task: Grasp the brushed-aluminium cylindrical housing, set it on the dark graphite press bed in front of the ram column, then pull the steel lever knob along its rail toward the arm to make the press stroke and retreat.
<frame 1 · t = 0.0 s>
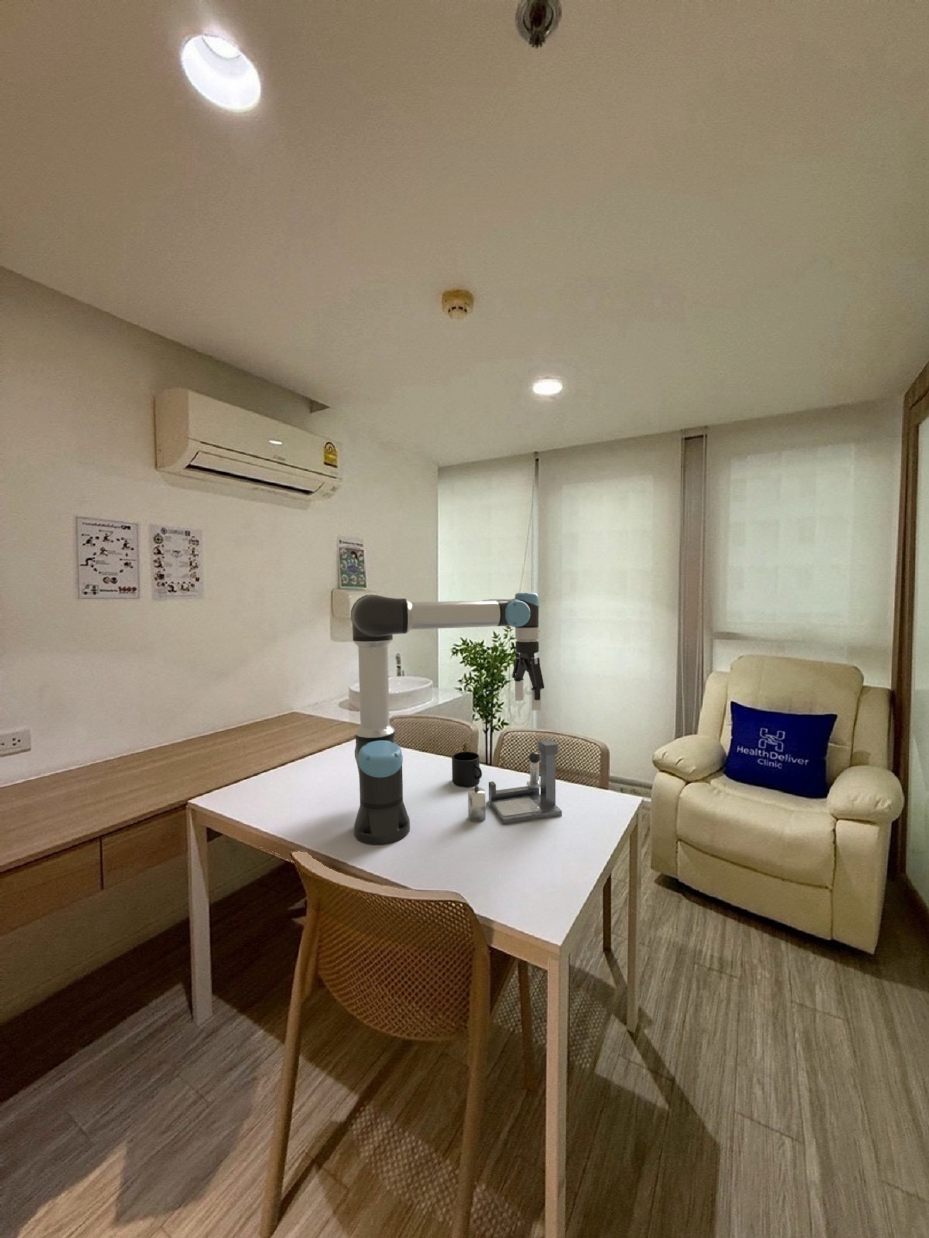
hand: (527, 705, 157), 28 cm above the table, fingers open, 13 cm apart
mug: (468, 783, 164), on the table
press: (523, 809, 144), on the table
lever: (534, 768, 153), point 9 cm above the table, slide at 0.0 cm
housing: (476, 818, 139), on the table
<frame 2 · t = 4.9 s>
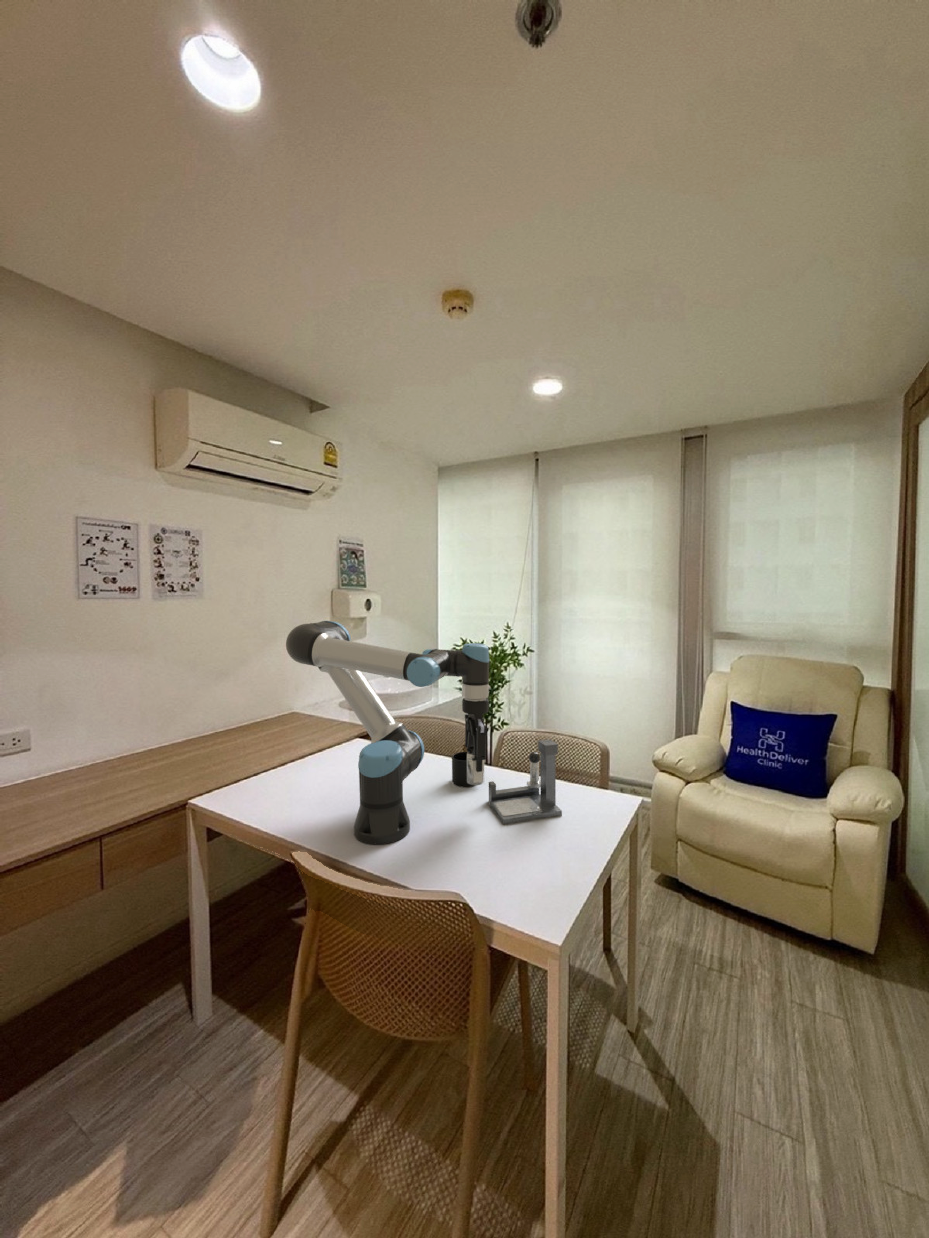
hand: (474, 777, 138), 12 cm above the table, fingers closed on housing, 5 cm apart
housing: (475, 781, 138), point 11 cm above the table, touching gripper
everything else where it was.
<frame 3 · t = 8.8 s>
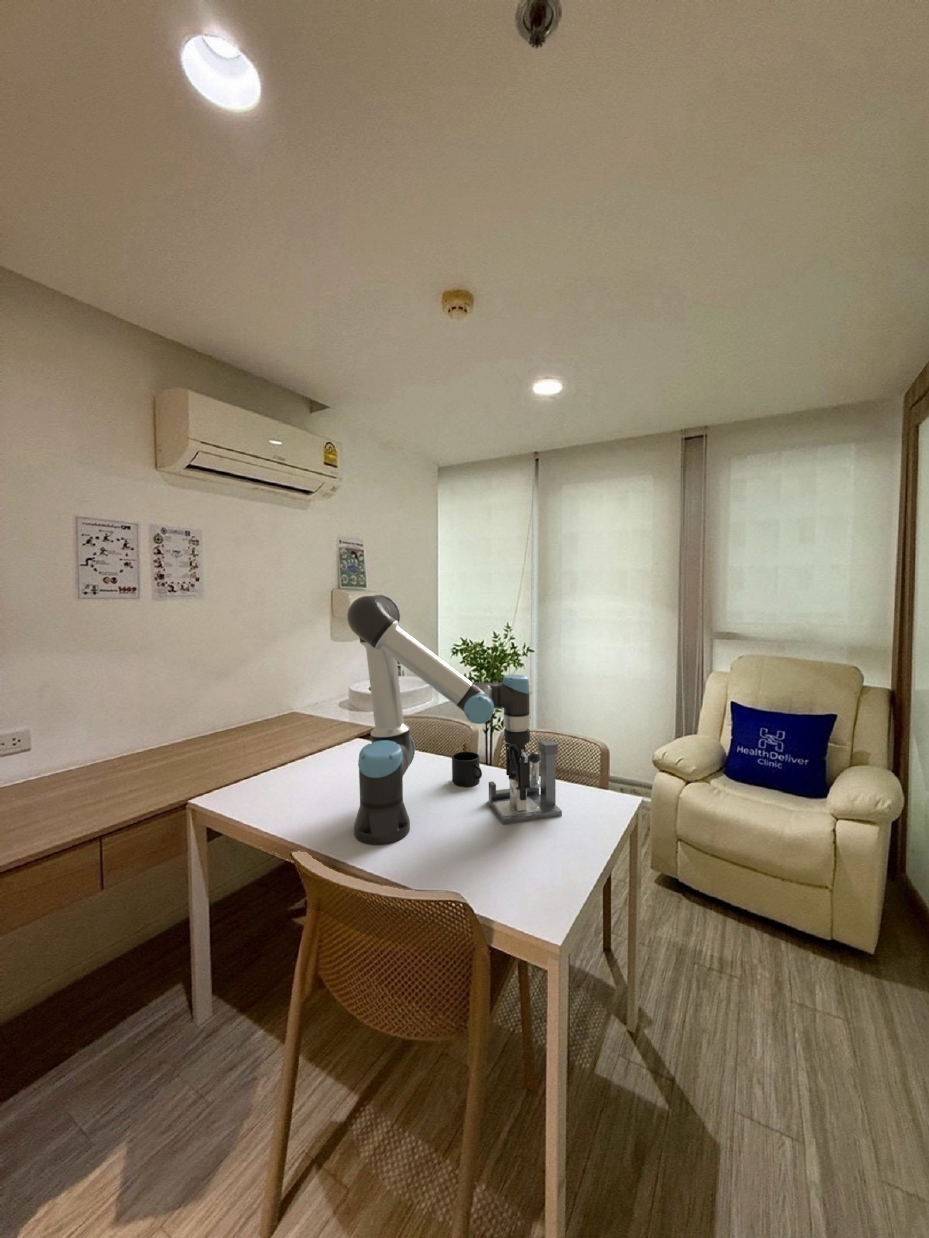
hand: (518, 805, 142), 2 cm above the table, fingers closed on housing, press, 5 cm apart
housing: (518, 806, 142), point 2 cm above the table, touching gripper, press
everything else where it was.
when the fingers open (2 cm above the table, at t = 8.8 s): housing stays where it is, resting on press.
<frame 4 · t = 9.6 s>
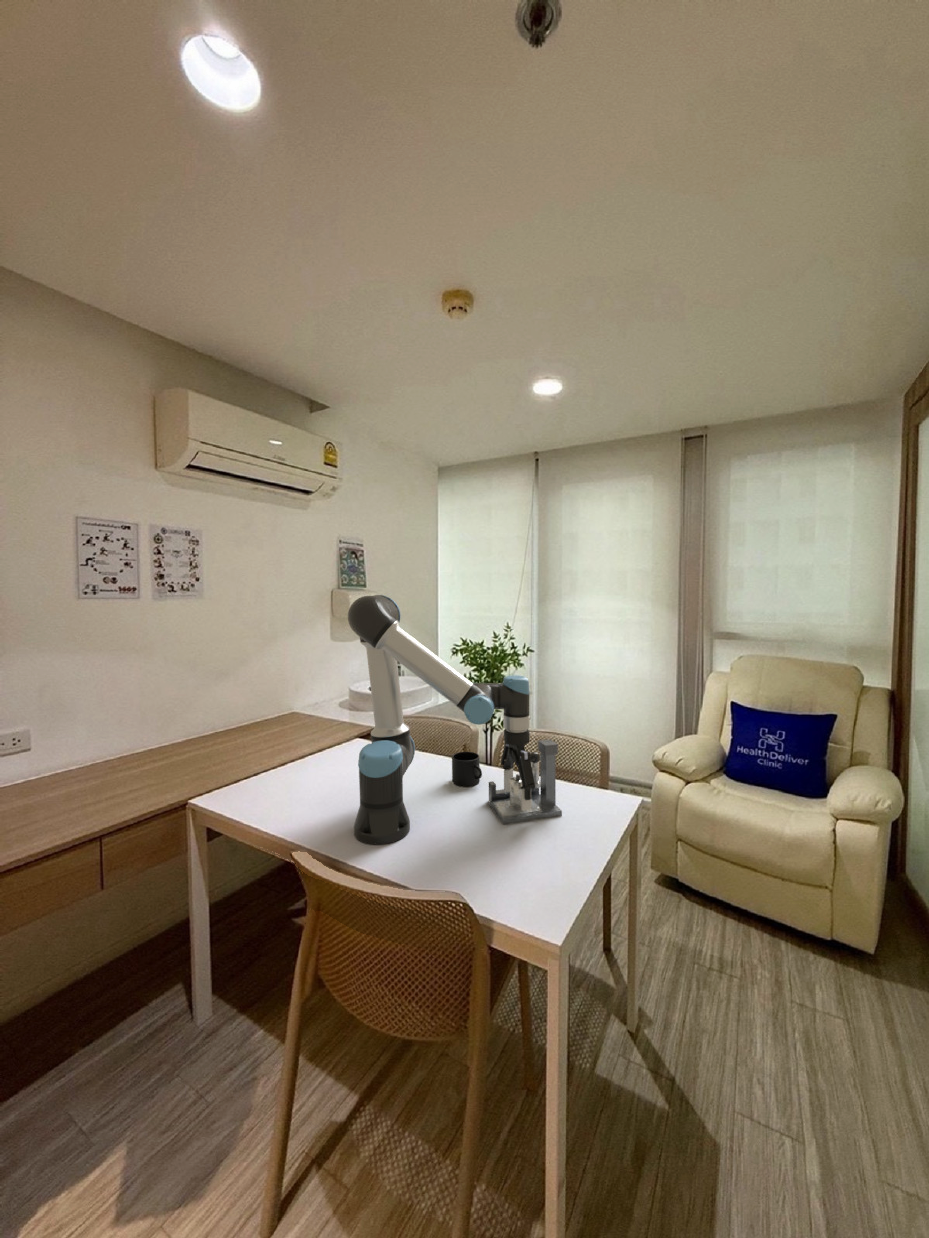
hand: (517, 799, 142), 4 cm above the table, fingers open, 13 cm apart
housing: (518, 806, 142), point 2 cm above the table, touching press
everything else where it was.
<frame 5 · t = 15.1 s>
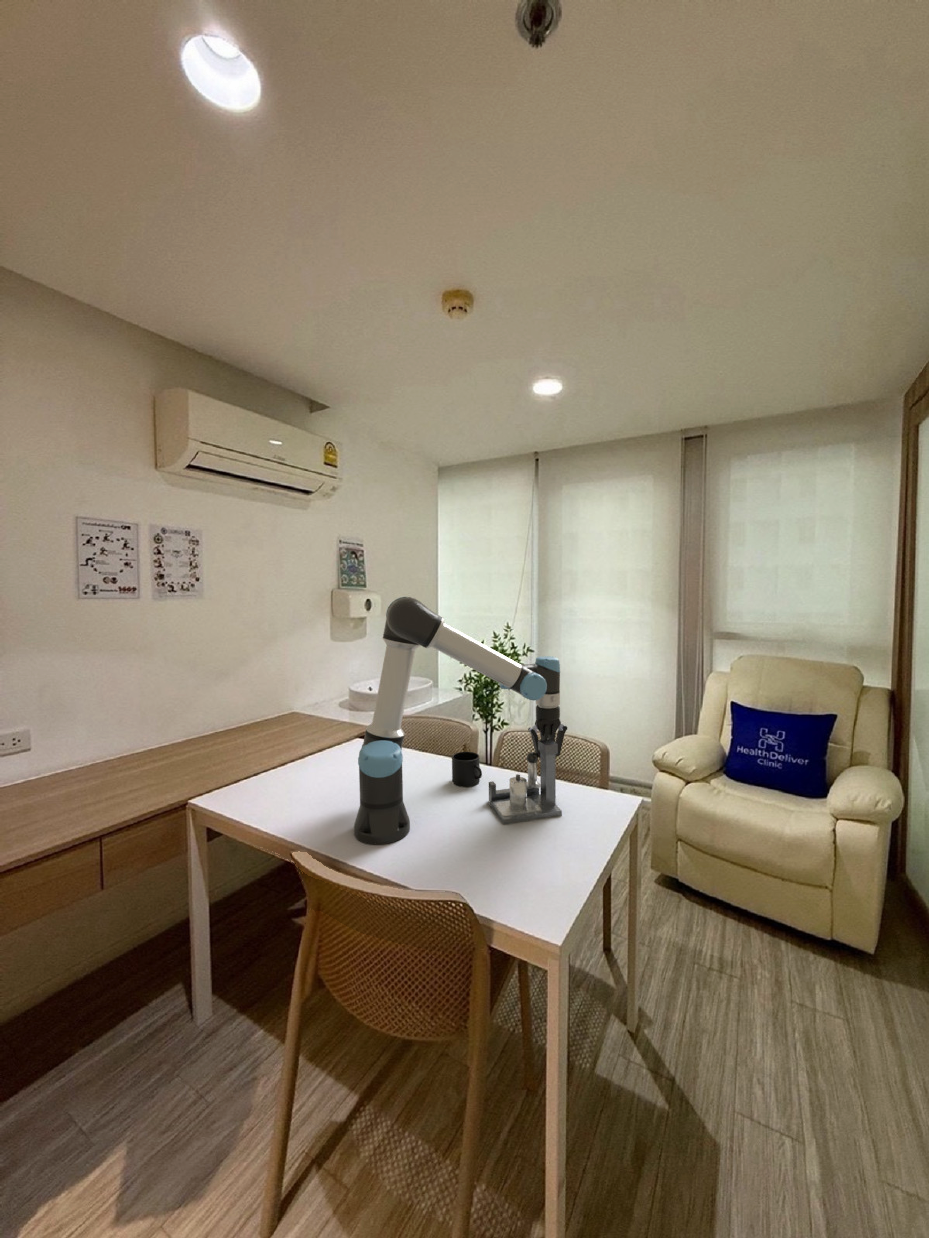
hand: (547, 777, 154), 5 cm above the table, fingers closed
lever: (532, 769, 152), point 9 cm above the table, slide at 0.8 cm, touching hand
everything else where it was.
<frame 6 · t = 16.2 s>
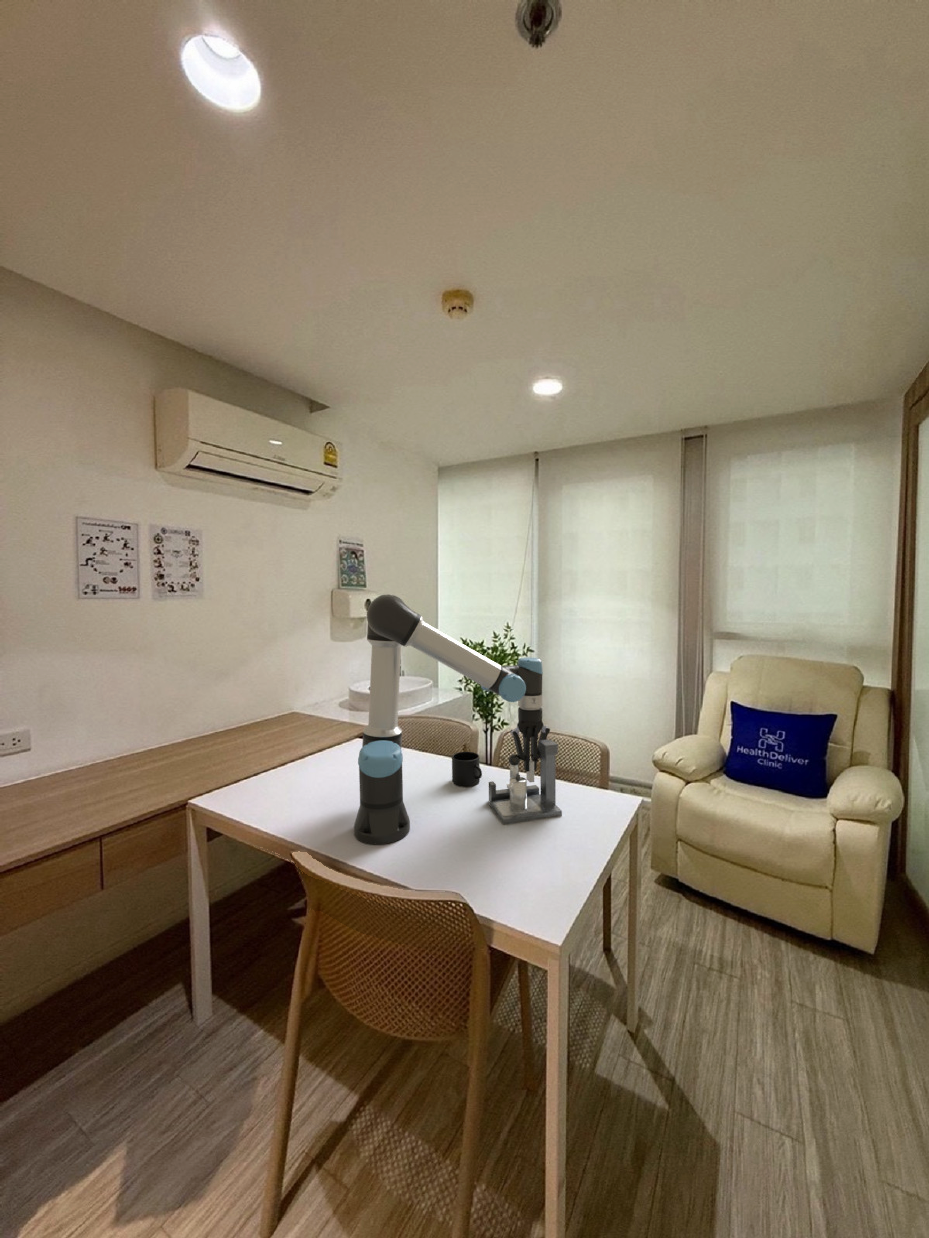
hand: (530, 780, 152), 5 cm above the table, fingers closed
lever: (514, 771, 151), point 9 cm above the table, slide at 6.9 cm, touching hand
everything else where it was.
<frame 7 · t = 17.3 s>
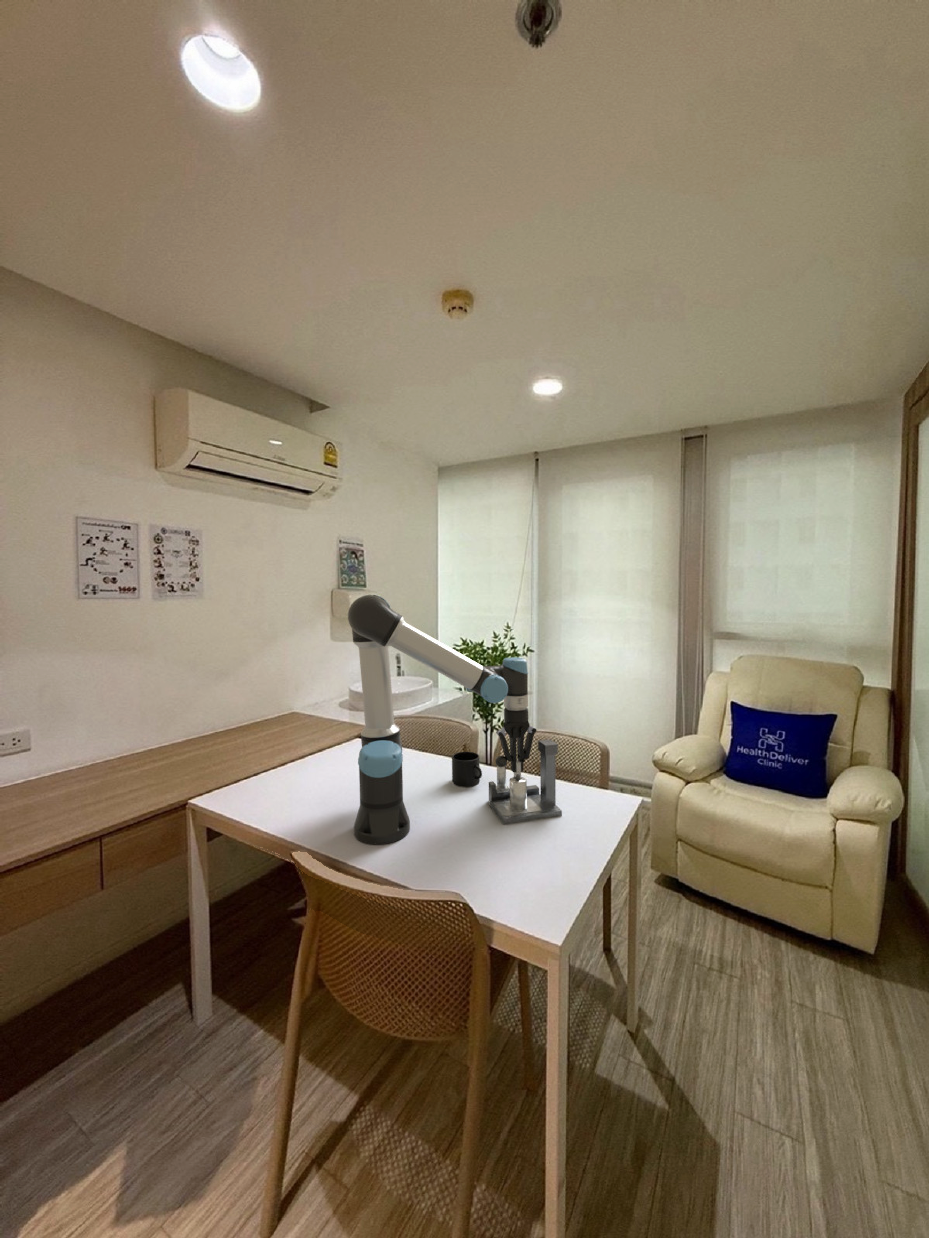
hand: (517, 781, 151), 6 cm above the table, fingers closed
lever: (501, 773, 149), point 9 cm above the table, slide at 11.2 cm, touching gripper, hand
everything else where it was.
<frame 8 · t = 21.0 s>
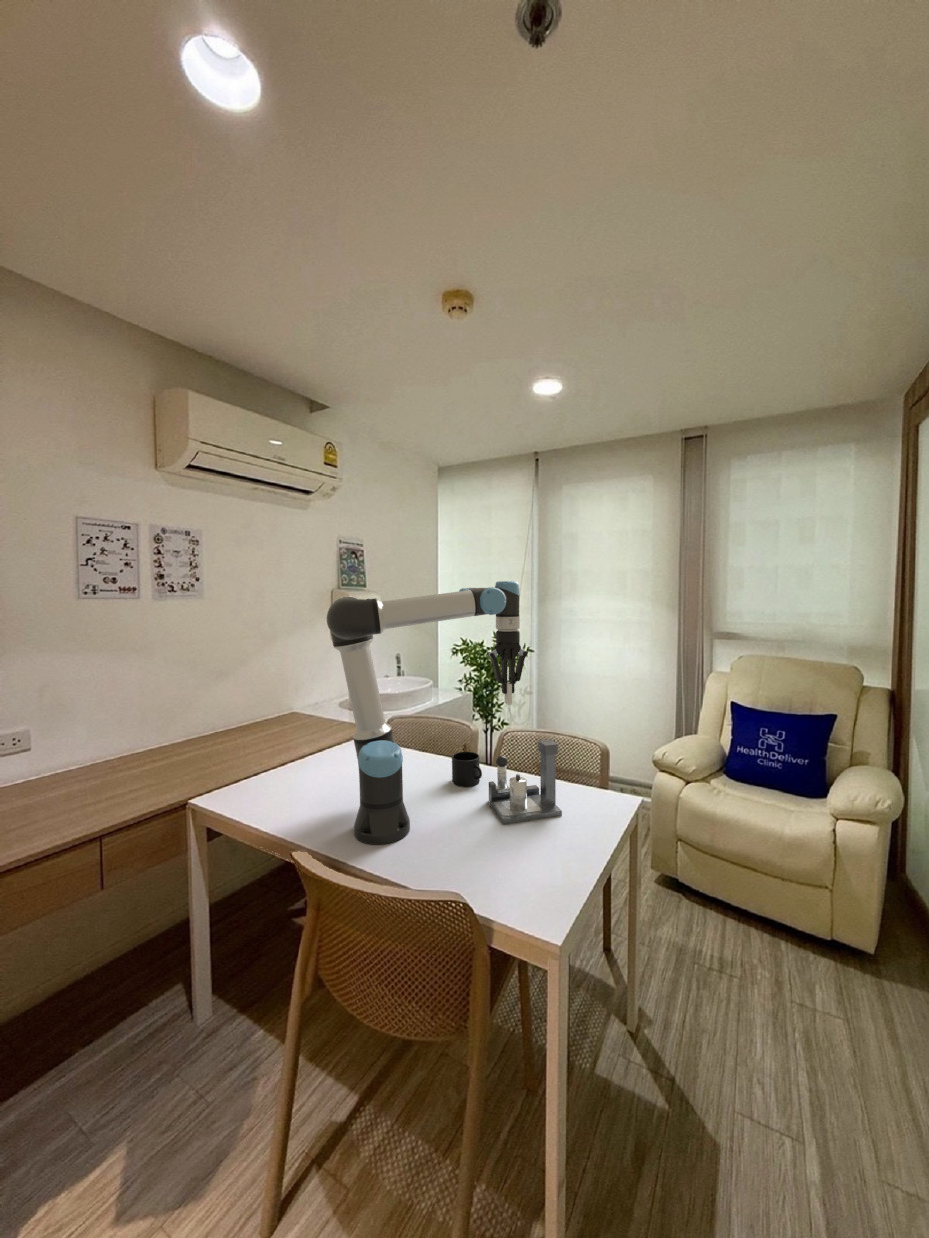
hand: (508, 703, 154), 29 cm above the table, fingers closed
lever: (501, 773, 149), point 9 cm above the table, slide at 11.0 cm
everything else where it was.
at the end: housing inside the target area (0.2 cm from its centre), point 1.7 cm above the table; housing tilted 0°; lever slide at 11.0 cm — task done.
